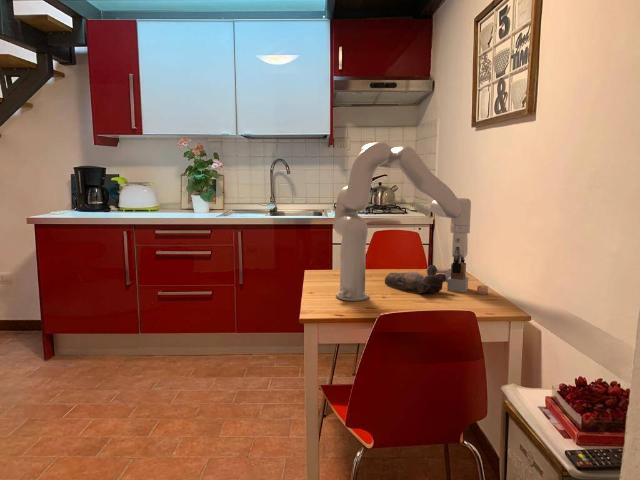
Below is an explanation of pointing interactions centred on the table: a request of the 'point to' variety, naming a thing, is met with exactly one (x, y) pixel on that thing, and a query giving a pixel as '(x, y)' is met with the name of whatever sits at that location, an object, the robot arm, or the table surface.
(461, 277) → the brown metal block
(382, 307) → the table surface
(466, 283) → the grey block
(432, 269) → the headphones
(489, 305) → the table surface
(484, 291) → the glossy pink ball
